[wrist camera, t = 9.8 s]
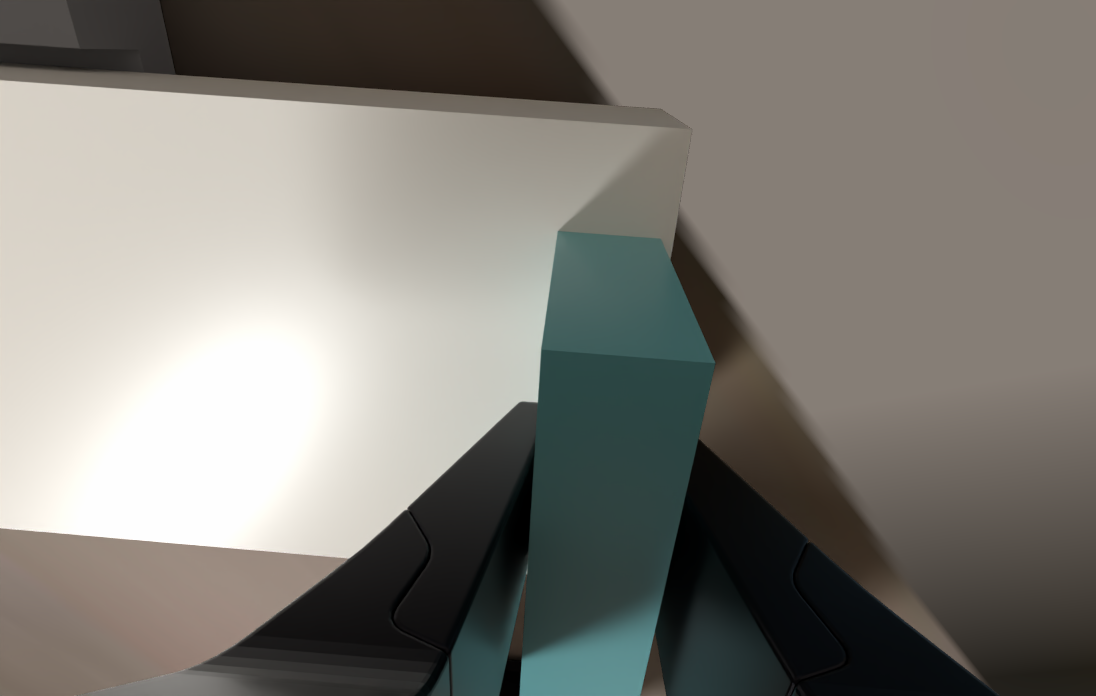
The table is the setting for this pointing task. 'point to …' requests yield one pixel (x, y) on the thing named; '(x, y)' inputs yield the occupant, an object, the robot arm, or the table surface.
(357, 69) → the table surface
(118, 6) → the filter housing
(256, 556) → the table surface
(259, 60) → the table surface
